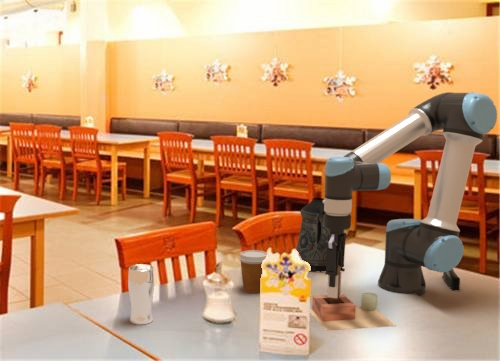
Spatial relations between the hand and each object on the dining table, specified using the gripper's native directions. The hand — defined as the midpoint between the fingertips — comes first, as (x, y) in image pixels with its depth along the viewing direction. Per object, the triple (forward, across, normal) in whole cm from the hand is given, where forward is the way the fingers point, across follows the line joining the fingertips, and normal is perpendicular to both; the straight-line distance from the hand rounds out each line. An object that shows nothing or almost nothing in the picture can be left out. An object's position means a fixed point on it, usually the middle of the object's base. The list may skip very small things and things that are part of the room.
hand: (334, 295), depth 174 cm
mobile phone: (+7, -48, +27) cm, 56 cm away
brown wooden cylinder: (+4, 0, 0) cm, 4 cm away
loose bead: (+6, -9, +8) cm, 14 cm away
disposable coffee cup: (+7, -12, -29) cm, 33 cm away
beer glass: (+7, +26, -47) cm, 54 cm away
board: (+7, 0, +5) cm, 8 cm away
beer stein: (+7, -48, -18) cm, 52 cm away
